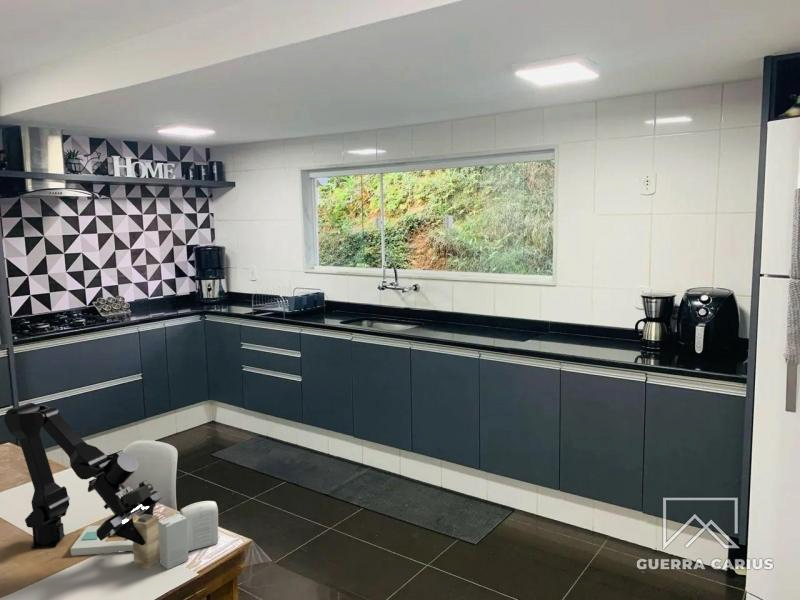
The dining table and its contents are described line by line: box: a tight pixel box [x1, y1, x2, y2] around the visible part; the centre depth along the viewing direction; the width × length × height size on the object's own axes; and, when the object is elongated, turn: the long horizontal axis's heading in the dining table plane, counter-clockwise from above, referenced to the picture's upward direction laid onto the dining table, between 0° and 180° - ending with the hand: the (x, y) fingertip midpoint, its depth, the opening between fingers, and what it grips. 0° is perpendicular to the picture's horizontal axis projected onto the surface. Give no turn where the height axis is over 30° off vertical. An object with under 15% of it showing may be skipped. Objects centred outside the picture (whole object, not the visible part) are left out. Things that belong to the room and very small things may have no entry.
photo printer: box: [179, 500, 219, 552], centre depth 164 cm, size 10×4×12 cm, turn 123°
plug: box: [132, 514, 160, 570], centre depth 155 cm, size 4×4×13 cm
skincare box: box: [158, 513, 190, 570], centre depth 155 cm, size 6×4×12 cm
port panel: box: [70, 525, 133, 556], centre depth 166 cm, size 20×12×2 cm, turn 98°
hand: (150, 539), depth 155 cm, fingers closed on plug, 4 cm apart
